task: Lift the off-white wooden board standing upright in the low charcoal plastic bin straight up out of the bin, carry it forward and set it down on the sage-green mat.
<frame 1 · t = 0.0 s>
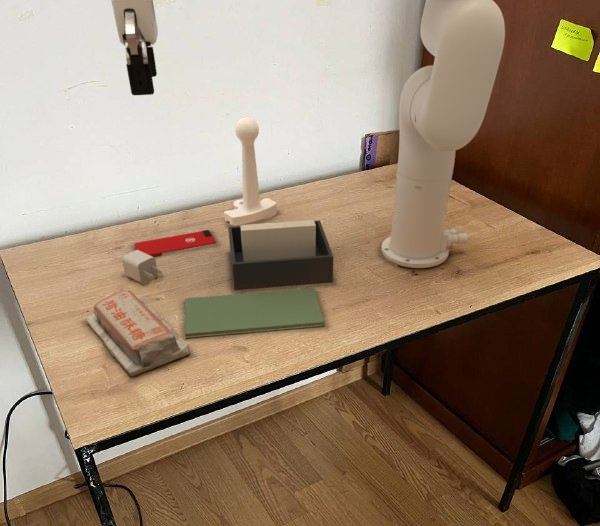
hand: (144, 85, 92), 31 cm above the table, tool pointing down, fingers open, 9 cm apart
board: (279, 266, 112), resting on bin
usb wall charger: (147, 279, 110), on the table
packaged product: (137, 339, 97), on the table
electronic device: (175, 245, 120), on the table
bin: (279, 268, 113), on the table
mat: (253, 314, 101), on the table
joystick: (248, 216, 129), on the table
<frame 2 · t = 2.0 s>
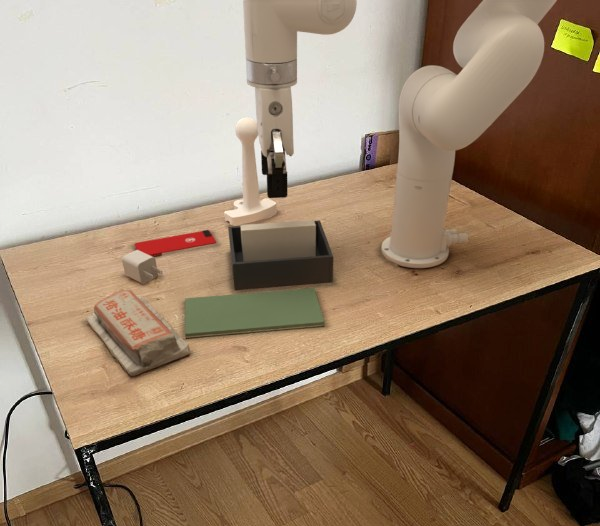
hand: (274, 185, 102), 16 cm above the table, tool pointing down, fingers open, 9 cm apart
nothing on the table moved.
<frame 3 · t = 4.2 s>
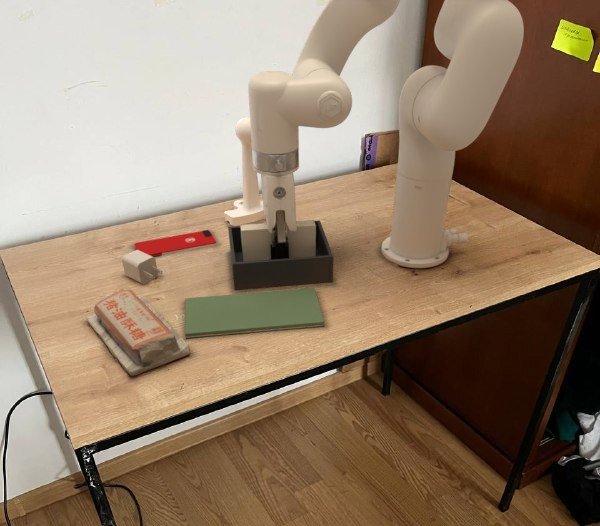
hand: (279, 259, 111), 2 cm above the table, tool pointing down, fingers closed on board, 2 cm apart
board: (279, 266, 112), point 1 cm above the table, touching bin, gripper
everything else where it was.
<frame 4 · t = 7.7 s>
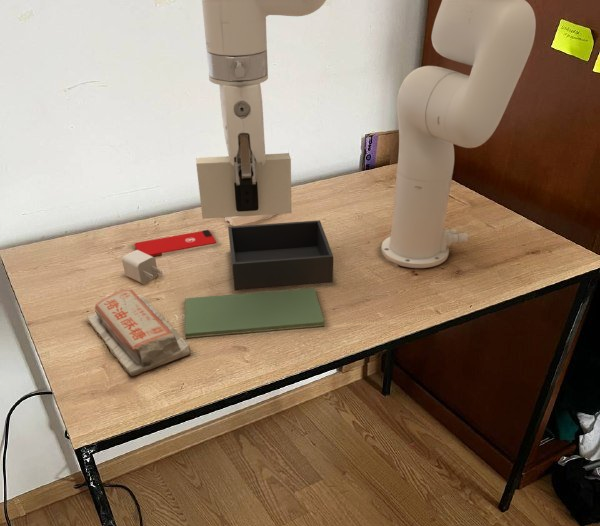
hand: (246, 204, 90), 19 cm above the table, tool pointing down, fingers closed on board
board: (246, 213, 90), point 17 cm above the table, touching gripper
everything else where it was.
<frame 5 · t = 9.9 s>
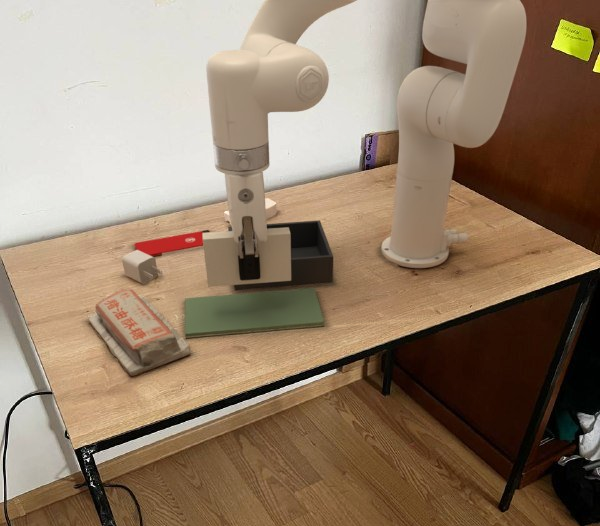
hand: (249, 273, 96), 8 cm above the table, tool pointing down, fingers closed on board
board: (249, 280, 97), point 7 cm above the table, touching gripper
everything else where it was.
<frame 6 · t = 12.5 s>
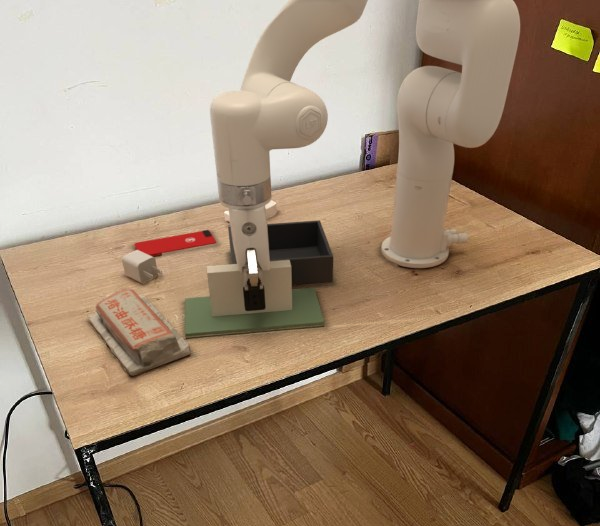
hand: (252, 292, 99), 4 cm above the table, tool pointing down, fingers open, 9 cm apart
board: (252, 309, 100), point 1 cm above the table, touching mat
everything else where it was.
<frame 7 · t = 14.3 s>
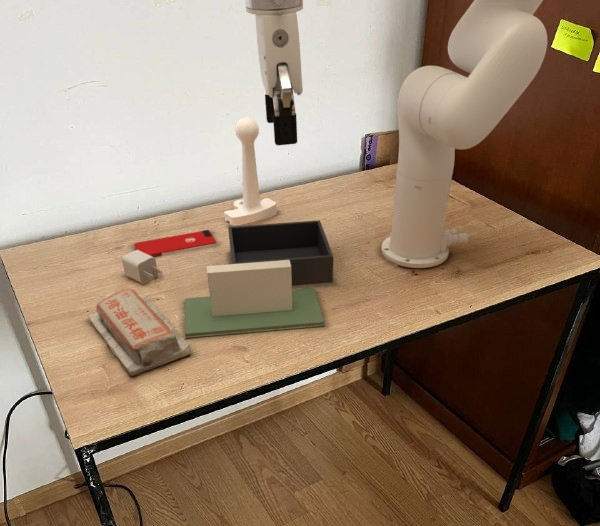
hand: (281, 132, 91), 26 cm above the table, tool pointing down, fingers open, 9 cm apart
nothing on the table moved.
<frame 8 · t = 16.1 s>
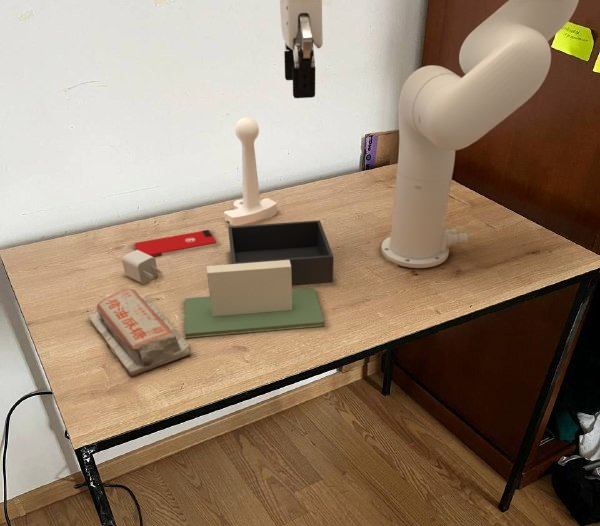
hand: (299, 88, 93), 30 cm above the table, tool pointing down, fingers open, 9 cm apart
nothing on the table moved.
at the end: board inside the target area (0.1 cm from its centre), point 1.0 cm above the table; board touching mat; the gripper is holding nothing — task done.
